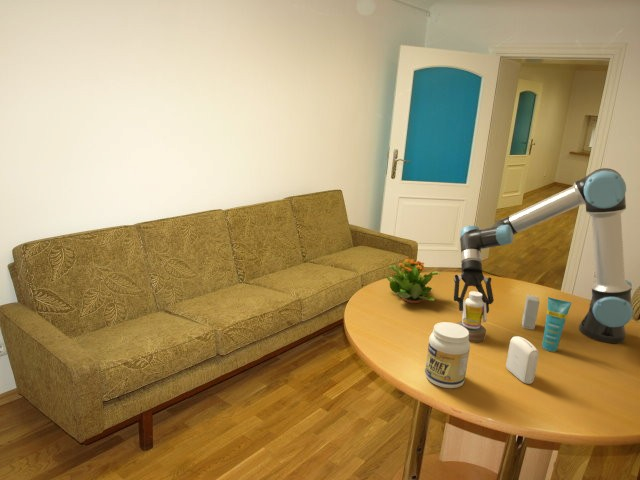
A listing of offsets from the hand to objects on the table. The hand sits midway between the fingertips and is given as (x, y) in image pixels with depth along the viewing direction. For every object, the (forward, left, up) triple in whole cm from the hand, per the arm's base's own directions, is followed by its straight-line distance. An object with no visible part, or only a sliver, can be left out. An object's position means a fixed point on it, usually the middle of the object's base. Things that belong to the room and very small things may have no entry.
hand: (474, 320), depth 168 cm
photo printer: (-24, +3, -8) cm, 26 cm away
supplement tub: (-16, +27, -8) cm, 33 cm away
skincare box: (0, -30, -8) cm, 31 cm away
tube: (-16, -22, -8) cm, 28 cm away
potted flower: (+38, -2, -8) cm, 39 cm away
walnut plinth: (+3, -2, -8) cm, 9 cm away
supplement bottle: (+3, -2, -4) cm, 6 cm away
